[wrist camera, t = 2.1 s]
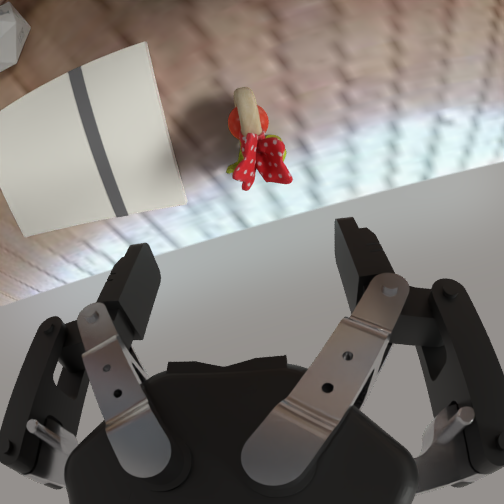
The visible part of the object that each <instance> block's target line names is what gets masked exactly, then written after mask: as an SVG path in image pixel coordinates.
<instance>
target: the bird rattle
mask: <svg viewBox="0 0 504 504" xmlns="http://www.w3.org/2000/svg"><path fill="white" fill-rule="evenodd" d="M234 104H235V108H234V109H233V110H232V111H231V113H230V115H229V118H228V127H229V130H230V132H231V134H232V135H233V136H234V137H235V138H237V139H238V140H240V147H241V148H240V152H239V158H238V162H236V163H234V164H232V165H230V166H228V168H227V171H226V173H233V175H232V178H233V179H235V180H237V181H243V183H242V190H245V191H247V190H249V189H250V187H251V186H252V184H253V182H254V180H255V172H256V168H257V170H258V171H259V173H260V174H261V175H262V177H263V178H264V180H265V181H266V182H275V183H280V184H289V183H291V182H292V180H293V179H292V176H291V174H290V173H289V171H288V169H287V167H286V166H285V164H284V163H283V161H284V159H285V156H286V149H285V145H284V143H283V142H282V140H281V138H280V137H278V136H276V135H267V136H266V137H265V132H266V131H267V128H268V124H269V122H268V116H267V114H266V112H265V111H264V110H263V109H262V108H261V107H260V106H258V105H257V103H256V99H255V97H254V94H253V92H252V90H251V89H250V88H248V87H242V88H238V89H236V90H235V91H234Z"/></svg>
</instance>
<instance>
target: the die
mask: <svg viewBox="0 0 504 504" xmlns="http://www.w3.org/2000/svg"><path fill="white" fill-rule="evenodd" d="M30 29H31V26H30V25H29V24H28V23H27V22H26V21H25V19H23V17H22V16H21V15H20V14H19V12H18V11H17V10H16V9H15V8H14V7H13V5H12V4H11V3H10V2H7V3H5V4H3V5H1V6H0V72H1V71H3V70H5V69H7V68H9V67H11V66H12V65H14V64H16V63H17V61H18V59H19V56H20V53H21V51H22V48H23V46H24V43H25V41H26V38H27V36H28V34H29V31H30Z"/></svg>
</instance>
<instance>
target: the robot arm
mask: <svg viewBox="0 0 504 504" xmlns="http://www.w3.org/2000/svg"><path fill="white" fill-rule="evenodd" d="M335 258H336V264H337V267H338V270H339V273H340V277H341V280H342V283H343V287H344V290H345V293H346V297H347V300H348V304H349V307H350V311H351V316H350V317H349V318H348V317H344V318H343V319H342V320H341V322H340V323H339V324H338V326H337V328H336V329H335V331H334V332H333V334H332V335H331V337H330V338H329V340H328V341H327V343H326V344H325V346H324V347H323V348H322V350H321V351H320V353H319V354H318V356H317V357H316V359H315V360H314V362H313V363H312V364H311V366H310V367H309V368H308V369H307V368H304V367H301V366H297V365H292V364H287V358H286V355H284V356H274V357H263V358H254V359H251V360H248V361H244V362H241V363H237V364H234V365H230V366H226V367H221V366H216V365H211V364H205V363H201V362H196V361H192V362H168V366H167V371H164V372H161V373H158V374H156V375H154V376H152V377H151V378H149V376H148V374H147V373H146V371H145V369H144V367H143V365H142V363H141V362H140V360H139V358H138V356H137V354H136V352H135V350H134V348H133V347H132V346H131V344H132V341H133V340H143V338H144V334H145V331H146V327H147V324H148V321H149V317H150V314H151V311H152V307H153V304H154V301H155V298H156V295H157V291H158V289H159V286H160V281H161V275H160V270H159V268H158V265H157V263H156V261H155V258H154V256H153V253H152V251H151V249H150V246H149V245H148V244H147V243H141V244H134V245H130V247H129V248H128V250H127V252H126V254H125V256H124V257H122V258H121V259H120V260H119V261H118V262H117V263H116V264H115V265H114V267H113V269H112V271H111V273H110V274H111V275H109V277H108V279H107V282H106V283H105V285H104V287H103V289H102V291H101V293H100V296H99V298H98V300H97V302H96V303H92V304H90V305H88V306H86V307H85V308H84V309H83V310H82V311H81V312H80V313H79V315H78V318H77V320H75V321H72V322H69V323H66V324H64V323H63V322H62V320H61V319H60V318H59V317H57V316H54V317H50V318H48V319H46V320H45V321H44V322H43V323H42V324H41V325H40V327H39V328H38V330H37V333H36V335H35V337H34V339H33V342H32V344H31V346H30V348H29V351H28V353H27V356H26V358H25V361H24V363H23V366H22V368H21V371H20V373H19V376H18V378H17V381H16V384H15V386H14V389H13V392H12V395H11V398H10V401H9V404H8V407H7V410H6V413H5V417H4V420H3V423H2V427H1V430H0V462H1V463H3V464H4V465H6V466H8V467H10V468H12V469H13V470H15V471H17V472H18V473H19V474H21V475H23V476H25V477H27V478H29V479H31V480H33V481H35V482H37V483H40V484H44V485H46V486H48V487H51V488H53V489H61V488H63V487H64V488H66V489H67V492H68V497H69V503H70V504H411V503H412V501H413V499H414V496H416V495H419V494H423V493H427V492H430V491H434V490H437V489H440V488H444V487H447V486H450V485H451V486H453V487H464V486H466V485H468V484H471V483H473V482H475V481H477V480H479V479H481V478H483V477H485V476H487V475H489V474H491V473H493V472H495V471H497V470H499V469H501V468H502V467H504V374H503V371H502V369H501V366H500V364H499V361H498V359H497V356H496V354H495V351H494V349H493V346H492V344H491V342H490V339H489V337H488V335H487V333H486V330H485V328H484V326H483V324H482V322H481V320H480V318H479V315H478V313H477V312H476V309H475V307H474V306H473V303H472V301H471V299H470V297H469V295H468V293H467V292H466V290H465V288H464V287H463V286H462V285H461V284H460V283H458V282H457V281H455V280H452V279H440V280H437V281H436V282H435V283H434V284H433V286H432V289H424V288H415V287H411V286H409V284H408V282H407V281H406V280H405V279H404V278H403V277H401V276H399V275H397V274H395V272H394V270H393V268H392V266H391V264H390V262H389V260H388V258H387V256H386V254H385V252H384V251H383V248H382V246H381V245H380V244H379V241H378V239H377V237H376V235H375V234H374V233H373V232H371V231H370V230H369V229H368V228H358V226H357V224H356V222H355V220H354V218H353V217H348V218H339V219H335ZM394 343H395V344H404V345H415V346H416V349H417V352H418V356H419V359H420V363H421V367H422V370H423V374H424V377H425V382H426V386H427V389H428V394H429V398H430V402H431V407H432V411H433V416H434V420H433V421H432V422H431V423H430V424H429V425H428V426H427V428H426V429H425V431H424V433H423V438H422V450H421V453H420V455H419V457H417V458H413V457H412V455H411V454H410V452H409V451H408V450H407V449H406V448H405V447H404V446H402V445H401V444H400V443H399V442H397V441H396V440H395V439H394V438H392V437H391V436H390V435H389V434H388V433H386V432H385V431H384V430H383V429H382V428H380V427H379V426H378V425H377V424H376V423H374V422H373V421H372V420H371V419H369V418H368V417H367V416H366V415H365V414H363V413H362V412H361V411H360V410H361V409H362V407H363V405H364V403H365V401H366V400H367V398H368V396H369V394H370V392H371V390H372V387H373V385H374V383H375V381H376V379H377V377H378V375H379V373H380V371H381V369H382V367H383V365H384V363H385V361H386V359H387V357H388V355H389V353H390V351H391V348H392V346H393V344H394ZM58 361H59V362H60V364H62V366H63V368H62V372H61V374H60V378H59V381H58V384H57V386H56V385H55V383H54V380H53V373H54V370H55V367H56V364H57V362H58ZM89 381H90V383H91V386H92V389H93V392H94V394H95V397H96V400H97V402H98V405H99V408H100V410H101V413H102V415H103V417H104V421H103V422H102V423H101V424H100V425H99V426H98V427H96V428H95V429H94V430H93V431H92V432H91V433H90V434H89V435H88V436H87V437H86V438H85V439H84V440H83V441H82V442H81V443H80V444H79V445H78V442H77V439H76V435H77V430H78V426H79V421H80V417H81V413H82V408H83V404H84V400H85V396H86V392H87V388H88V385H89Z"/></svg>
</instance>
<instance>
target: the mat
mask: <svg viewBox="0 0 504 504" xmlns="http://www.w3.org/2000/svg"><path fill="white" fill-rule="evenodd" d="M0 188H1V190H2V192H3V194H4V197H5V199H6V201H7V203H8V205H9V207H10V210H11V212H12V214H13V216H14V218H15V220H16V222H17V224H18V226H19V228H20V230H21V231H22V233H23V235H24V237H28V236H32V235H36V234H41V233H45V232H49V231H53V230H58V229H62V228H67V227H71V226H76V225H80V224H85V223H90V222H94V221H99V220H104V219H109V218H114V217H122V216H127V215H130V214H135V213H140V212H146V211H151V210H157V209H163V208H169V207H174V206H180V205H186V204H187V197H186V194H185V190H184V187H183V183H182V180H181V176H180V173H179V169H178V165H177V162H176V158H175V154H174V151H173V147H172V143H171V139H170V136H169V132H168V128H167V124H166V120H165V116H164V112H163V108H162V104H161V100H160V96H159V92H158V88H157V84H156V80H155V75H154V71H153V67H152V62H151V58H150V54H149V49H148V44H147V42H142V43H139V44H136V45H133V46H130V47H127V48H124V49H121V50H119V51H116V52H113V53H111V54H108V55H106V56H103V57H101V58H98V59H96V60H94V61H91V62H89V63H87V64H85V65H82V66H80V67H78V68H75V69H73V70H71V71H69V72H67V73H65V74H63V75H61V76H59V77H57V78H55V79H53V80H51V81H50V82H48V83H46V84H44V85H42V86H40V87H38V88H37V89H35V90H33V91H31V92H30V93H28V94H26V95H25V96H23V97H21V98H20V99H18V100H16V101H15V102H13V103H12V104H10V105H8V106H7V107H5V108H4V109H2V110H1V111H0Z"/></svg>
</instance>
